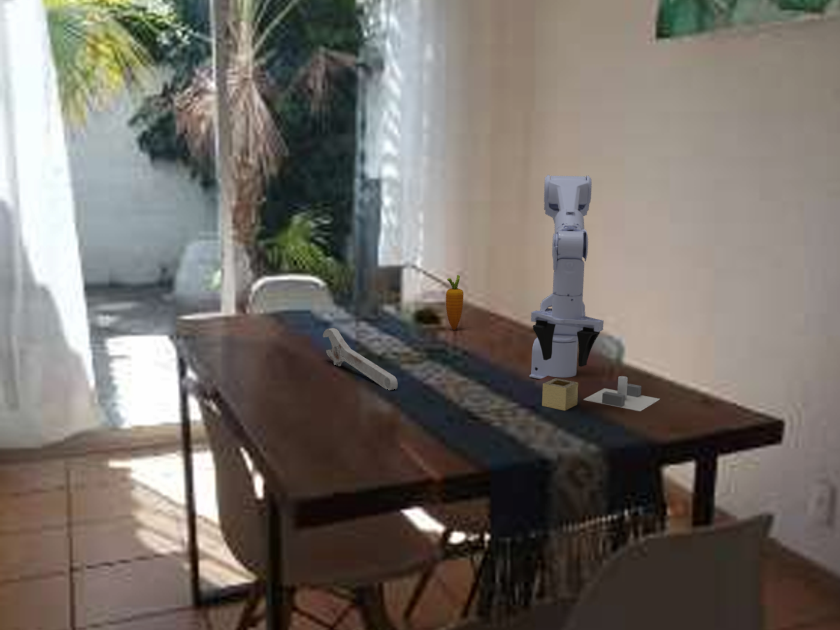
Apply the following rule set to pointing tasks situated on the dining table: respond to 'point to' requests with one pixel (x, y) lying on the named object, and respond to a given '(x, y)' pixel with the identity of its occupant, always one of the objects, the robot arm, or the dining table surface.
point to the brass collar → (560, 394)
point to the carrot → (454, 303)
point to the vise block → (623, 396)
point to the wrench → (357, 360)
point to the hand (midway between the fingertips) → (564, 362)
